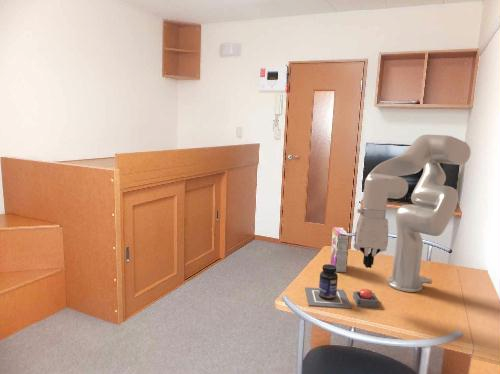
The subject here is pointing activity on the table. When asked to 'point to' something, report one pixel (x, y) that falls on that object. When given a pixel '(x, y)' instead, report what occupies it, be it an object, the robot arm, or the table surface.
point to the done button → (366, 294)
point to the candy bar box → (339, 249)
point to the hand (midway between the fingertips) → (367, 266)
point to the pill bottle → (328, 282)
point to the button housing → (365, 300)
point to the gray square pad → (316, 300)
